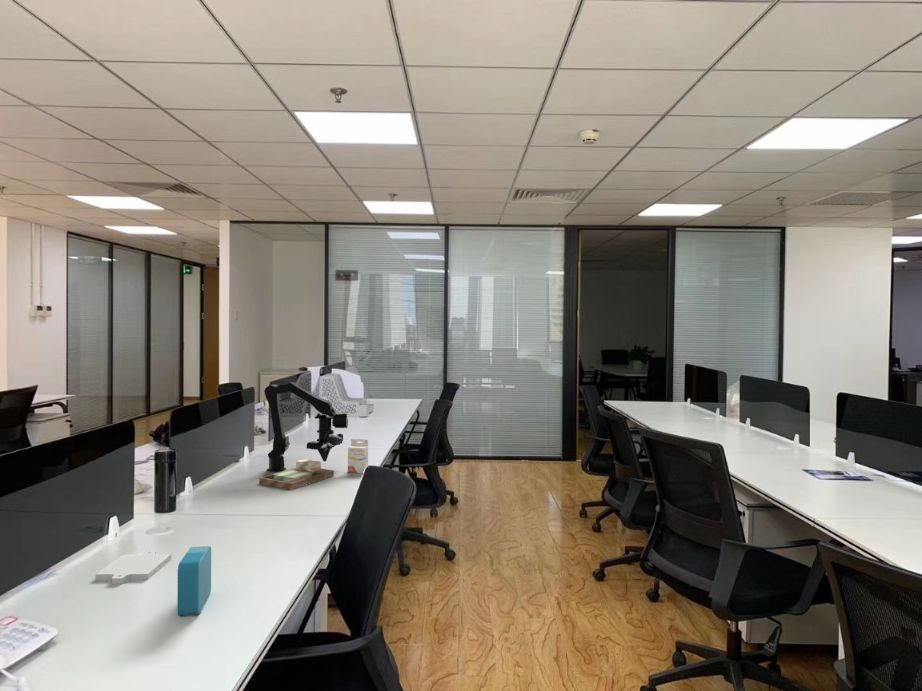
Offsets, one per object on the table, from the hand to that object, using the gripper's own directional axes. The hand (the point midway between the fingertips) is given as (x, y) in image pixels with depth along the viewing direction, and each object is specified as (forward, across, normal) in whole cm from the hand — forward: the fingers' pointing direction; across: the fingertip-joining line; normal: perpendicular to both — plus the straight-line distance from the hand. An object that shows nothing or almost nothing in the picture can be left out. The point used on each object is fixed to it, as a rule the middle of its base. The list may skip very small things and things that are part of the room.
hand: (324, 461), depth 261 cm
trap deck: (+4, -20, -2) cm, 20 cm away
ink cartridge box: (+4, +5, -15) cm, 17 cm away
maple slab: (+2, -11, 0) cm, 11 cm away
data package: (+4, -115, -63) cm, 131 cm away
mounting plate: (+5, -110, -32) cm, 114 cm away
